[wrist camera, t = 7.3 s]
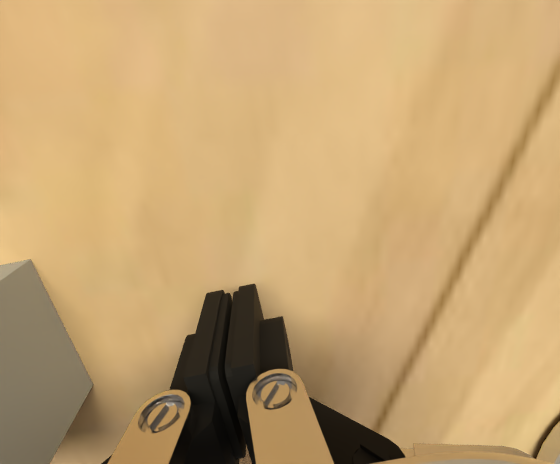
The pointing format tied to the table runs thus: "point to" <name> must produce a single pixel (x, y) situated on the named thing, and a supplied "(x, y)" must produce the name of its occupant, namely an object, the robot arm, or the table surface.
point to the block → (35, 370)
